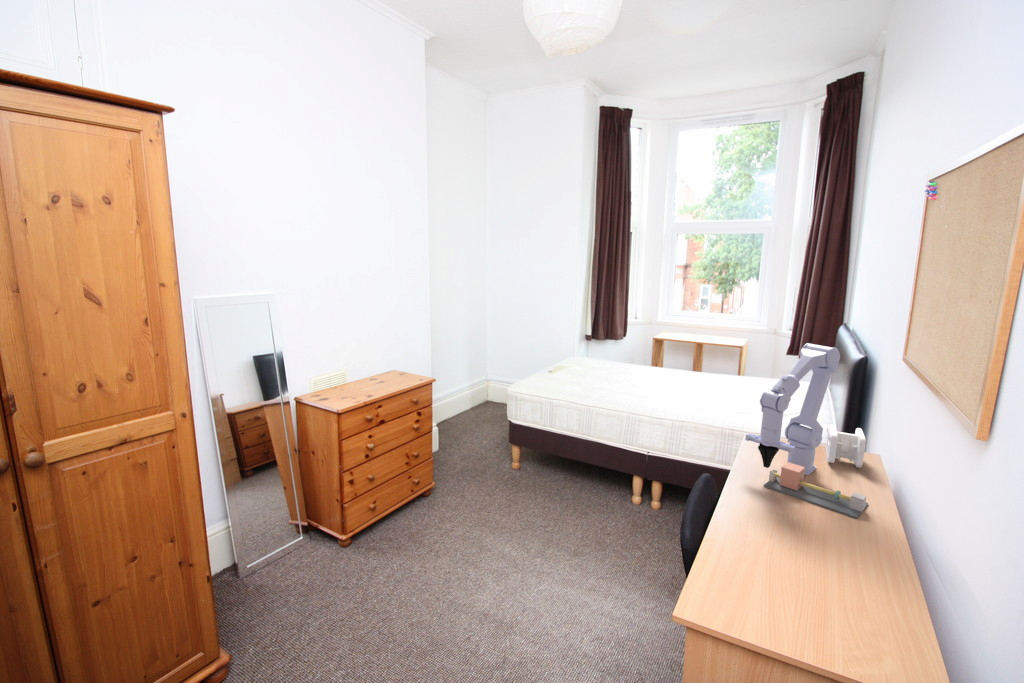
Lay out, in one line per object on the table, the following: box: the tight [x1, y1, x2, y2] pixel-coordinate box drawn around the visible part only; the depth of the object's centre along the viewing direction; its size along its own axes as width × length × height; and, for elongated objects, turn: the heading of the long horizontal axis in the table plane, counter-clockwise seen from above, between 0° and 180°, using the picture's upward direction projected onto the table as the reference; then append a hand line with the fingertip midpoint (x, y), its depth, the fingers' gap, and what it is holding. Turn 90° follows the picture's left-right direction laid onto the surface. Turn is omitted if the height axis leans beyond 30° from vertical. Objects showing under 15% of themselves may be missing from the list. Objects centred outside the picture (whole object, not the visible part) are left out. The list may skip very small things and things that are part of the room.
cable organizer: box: [824, 424, 867, 468], centre depth 169 cm, size 15×11×12 cm
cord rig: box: [763, 468, 869, 520], centre depth 144 cm, size 12×25×4 cm, turn 42°
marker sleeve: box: [780, 462, 805, 491], centre depth 148 cm, size 6×5×6 cm
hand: (766, 466), depth 154 cm, fingers closed
